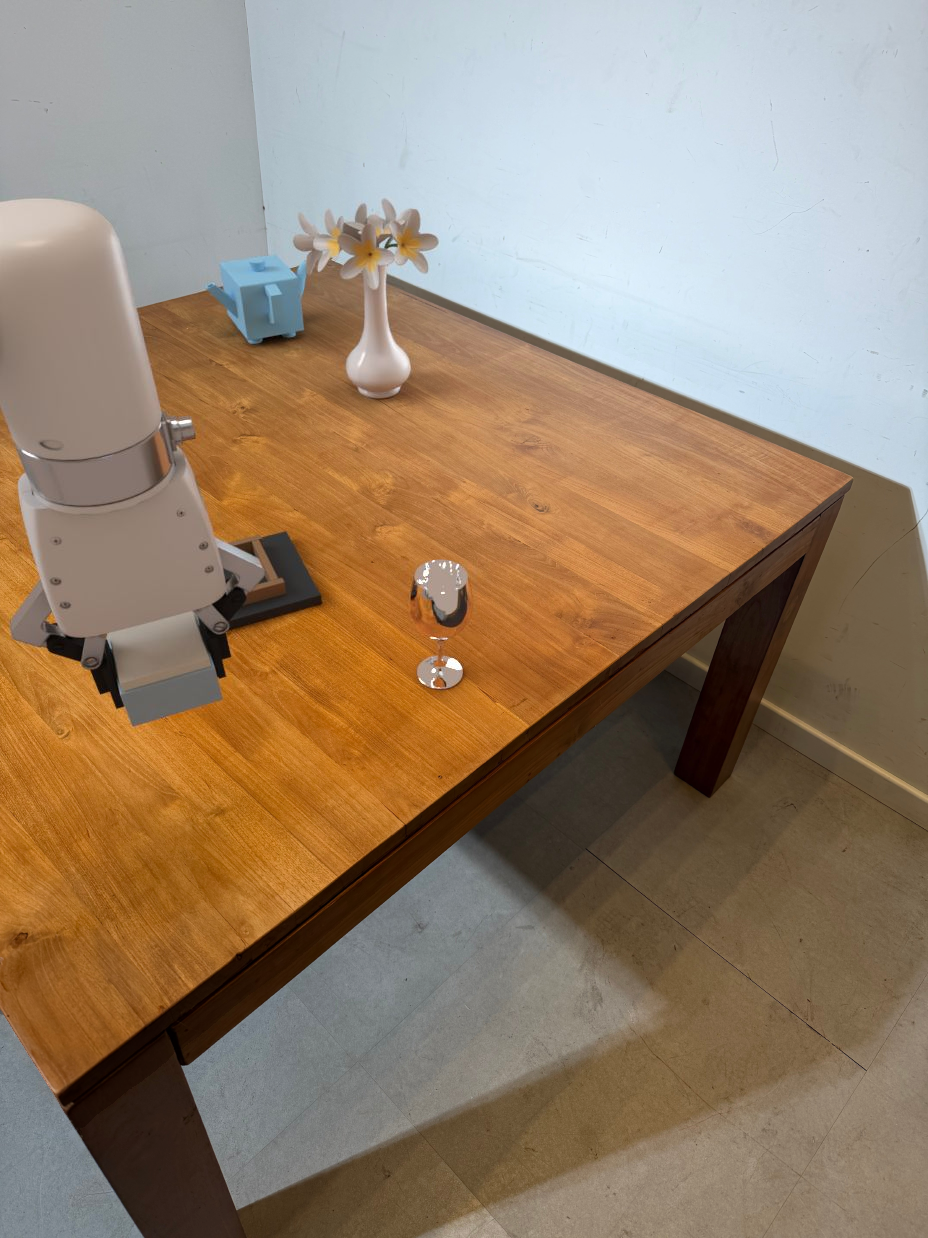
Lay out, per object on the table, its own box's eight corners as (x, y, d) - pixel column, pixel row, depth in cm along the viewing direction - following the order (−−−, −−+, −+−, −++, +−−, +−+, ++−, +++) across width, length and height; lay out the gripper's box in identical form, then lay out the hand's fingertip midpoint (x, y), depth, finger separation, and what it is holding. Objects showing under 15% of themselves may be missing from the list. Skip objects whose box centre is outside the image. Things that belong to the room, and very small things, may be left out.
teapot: (201, 321, 136) (188, 249, 128) (306, 303, 143) (299, 234, 135) (230, 361, 126) (217, 286, 118) (341, 340, 132) (336, 267, 125)
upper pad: (132, 727, 55) (116, 686, 52) (118, 667, 59) (103, 626, 56) (223, 700, 57) (212, 659, 54) (203, 643, 61) (193, 602, 58)
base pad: (165, 648, 81) (159, 627, 79) (142, 576, 89) (136, 555, 87) (322, 603, 87) (319, 583, 85) (287, 539, 94) (284, 519, 93)
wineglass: (417, 699, 77) (416, 603, 69) (403, 656, 81) (401, 560, 73) (476, 688, 78) (482, 592, 70) (460, 646, 83) (464, 551, 74)
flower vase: (319, 366, 126) (302, 186, 109) (441, 372, 125) (443, 193, 108) (302, 408, 116) (280, 218, 99) (433, 415, 116) (434, 226, 99)
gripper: (238, 393, 51) (275, 612, 63) (-79, 451, 45) (30, 679, 57) (272, 455, 46) (305, 679, 58) (-79, 528, 40) (40, 759, 52)
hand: (168, 677), depth 58 cm, fingers closed on upper pad, 6 cm apart
